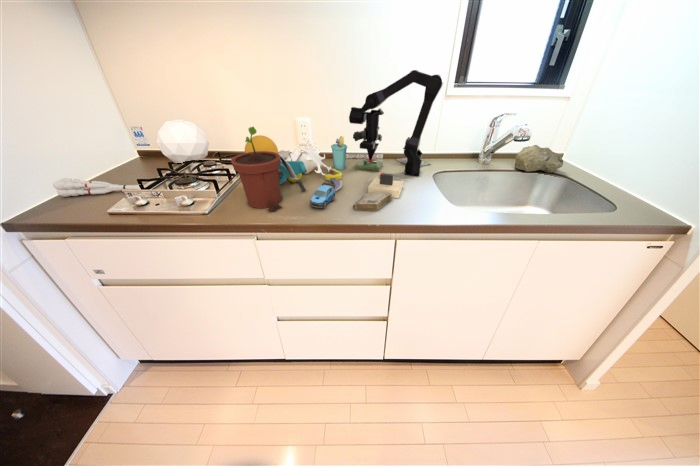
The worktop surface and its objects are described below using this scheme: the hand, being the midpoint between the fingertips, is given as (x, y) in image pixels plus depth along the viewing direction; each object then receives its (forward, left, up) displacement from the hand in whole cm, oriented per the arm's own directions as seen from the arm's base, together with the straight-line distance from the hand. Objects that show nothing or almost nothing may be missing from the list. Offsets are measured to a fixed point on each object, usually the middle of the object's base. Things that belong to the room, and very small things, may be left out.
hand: (370, 159), depth 120 cm
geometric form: (+97, +20, -3) cm, 99 cm away
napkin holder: (-19, -16, -4) cm, 25 cm away
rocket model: (+102, +70, -1) cm, 124 cm away
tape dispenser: (+24, +35, 0) cm, 43 cm away
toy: (+55, +22, +1) cm, 59 cm away
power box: (0, 0, -4) cm, 4 cm away
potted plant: (+25, +47, -4) cm, 53 cm away
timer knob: (-13, +25, -1) cm, 28 cm away
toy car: (+7, +43, -4) cm, 44 cm away
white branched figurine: (+21, +16, +4) cm, 27 cm away
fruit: (+26, +29, -4) cm, 39 cm away
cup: (+14, +6, -4) cm, 16 cm away
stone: (-11, +38, -4) cm, 40 cm away
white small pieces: (+32, +15, +7) cm, 35 cm away
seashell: (+31, +19, +3) cm, 37 cm away
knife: (+10, +24, -4) cm, 26 cm away
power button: (0, 0, -2) cm, 2 cm away
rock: (-76, -18, +3) cm, 78 cm away
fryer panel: (-13, +25, -4) cm, 28 cm away
